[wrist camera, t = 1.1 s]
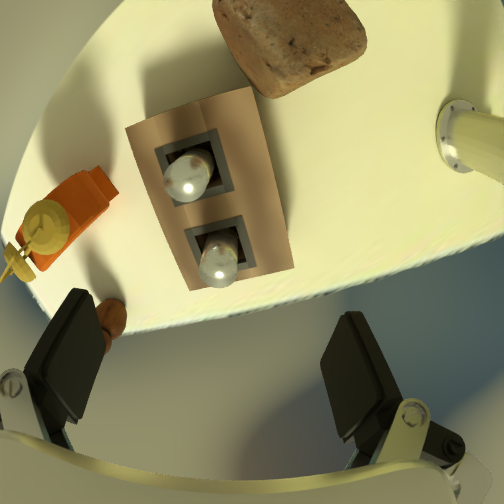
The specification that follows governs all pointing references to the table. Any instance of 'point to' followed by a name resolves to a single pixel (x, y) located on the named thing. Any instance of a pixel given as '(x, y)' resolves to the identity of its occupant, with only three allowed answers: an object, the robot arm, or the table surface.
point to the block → (289, 40)
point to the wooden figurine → (111, 319)
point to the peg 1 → (189, 175)
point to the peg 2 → (219, 258)
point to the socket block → (216, 184)
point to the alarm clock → (58, 221)
